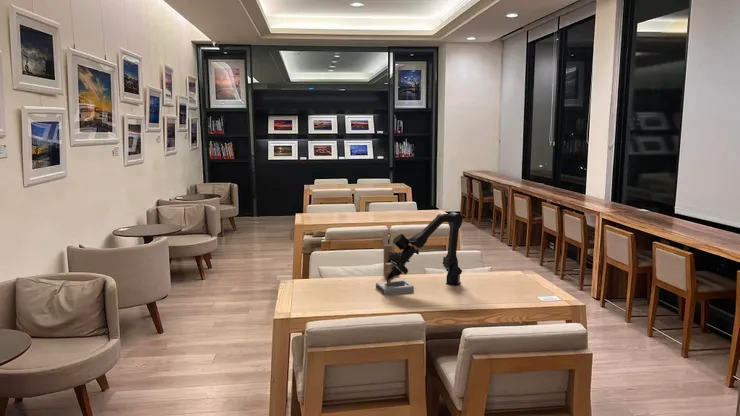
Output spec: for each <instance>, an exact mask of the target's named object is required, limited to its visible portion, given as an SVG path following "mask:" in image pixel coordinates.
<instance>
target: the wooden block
mask: <svg viewBox="0 0 740 416" xmlns="http://www.w3.org/2000/svg"><path fill="white" fill-rule="evenodd" d="M388 251H391V252H393V245H392V244H390V243H389V244H388V243H387V244H383V275H384V274H385V264H386V263H387V262H388V261H387V260H386V259H387V257H388V256H386V255H387V253H388ZM397 276H400V275H397ZM397 276H396V277H397Z"/></svg>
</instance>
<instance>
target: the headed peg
mask: <svg viewBox="0 0 740 416" xmlns="http://www.w3.org/2000/svg"><path fill="white" fill-rule="evenodd" d="M392 270H393V264H392V263H386V264H385V276H384V280H385V281H387V286H391V281H393V280H394V277H392V278H390V279H388V278H387V277H388V276H389V274H390V273H391V271H392Z"/></svg>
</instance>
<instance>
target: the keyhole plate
mask: <svg viewBox="0 0 740 416" xmlns="http://www.w3.org/2000/svg"><path fill="white" fill-rule="evenodd" d="M375 289H382V290H383V295H385V296H386V295H397V294H405V293H414V292H415V291H414V289H415V286H414V285H413V284H412V283H410V282H409V281H407V280H405V279H397V280H391V286H387V280H385V281H377V282H375Z"/></svg>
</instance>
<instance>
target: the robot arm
mask: <svg viewBox="0 0 740 416" xmlns="http://www.w3.org/2000/svg"><path fill="white" fill-rule="evenodd" d="M463 221H464V216H463V215H462V214H461V213H457V212H454V211H453V212H450V213H438V214H437V215H436V217H434V219H433V220H432V221H431V222H429V224H428V225H427V226H425V228H423V230H421V231H419V232H418V233H417V232H416V234H414V235H413V236H412V237H410V238H406V236H405V235H404V234H403V233H400V234H398V235H397V236H395V237H394V238H393V240H392V243H393V244H394V245H395V246H396V248H398V249H399V251H401V250H402V251H401V252H396V251H394V252H393V251H392V252H391V251H388V253H387V255H386V256H388V257H387V259H386V260H387V261H388V262H387V263H392V264H393V270H392V271H391V273H390V274H389V276H388V277H387V278H388V279H390V278H392V277H393V278H394V277H397V275H399V276H400V275H402V274H404V275H407V274H408V273H409V269H408V267H406V266H405V265H406V264H407V263H409V262H410V259H411V258H412V257H413V256H414V254H415V255H417V256H418V255H419V254H420V253H419V251H420V250H419V249H421V248H423V247H424V246H425V245H426V243H427V242H428V239H429V237H430V236H431V235H432V234H433V233H434V232H435V231H436V230H437V229H438V228H439V227H440V226H441V225H443V223H448V227H449V232H448V233H449V236H448V245H447V254H446V256H443V257H442V261H443V262H442V266H443V267H444V269H445V271H446V272H447V273H446V278H445V279H446V281H445V282H446V283H445V285H449V286H459V285H460V284H461V283H462V282H461V275H462V272H463V270H462V269H461V268H460V267H459V260H458V256H457V250H458V249H457V248H458V241H459V232H460V231H459V230H460V228H461V227H462V225H463ZM415 247H416V248H415ZM383 276H384V277H385V274H384V273H383Z"/></svg>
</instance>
